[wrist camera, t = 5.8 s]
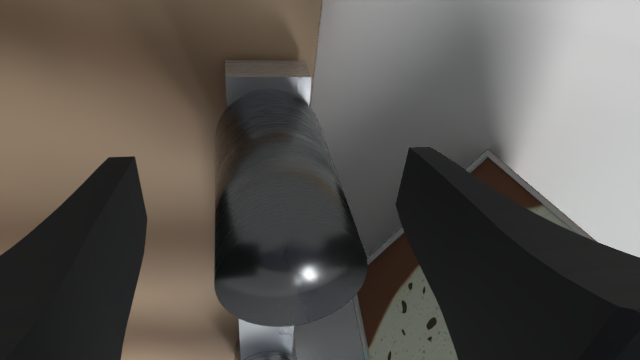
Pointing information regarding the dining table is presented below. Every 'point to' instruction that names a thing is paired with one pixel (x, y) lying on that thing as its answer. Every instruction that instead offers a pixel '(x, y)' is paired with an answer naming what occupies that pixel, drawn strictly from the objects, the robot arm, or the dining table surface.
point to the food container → (412, 287)
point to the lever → (278, 211)
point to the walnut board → (137, 134)
